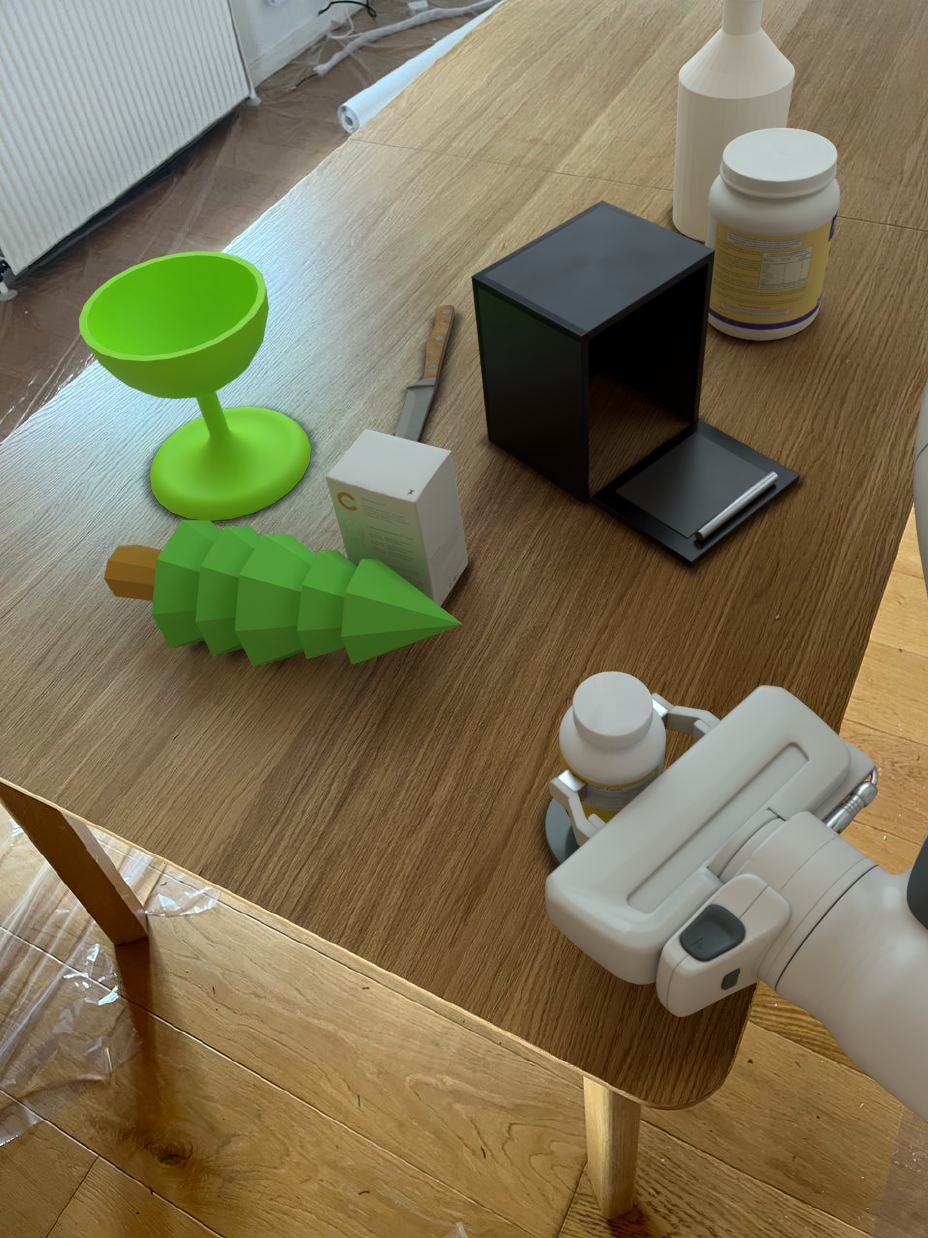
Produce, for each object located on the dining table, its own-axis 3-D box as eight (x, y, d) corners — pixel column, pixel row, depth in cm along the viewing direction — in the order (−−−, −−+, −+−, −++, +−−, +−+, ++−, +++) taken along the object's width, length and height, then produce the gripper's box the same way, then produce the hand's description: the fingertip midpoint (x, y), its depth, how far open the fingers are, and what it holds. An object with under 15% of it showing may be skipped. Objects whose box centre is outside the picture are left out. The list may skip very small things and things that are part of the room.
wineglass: (264, 534, 93) (207, 373, 80) (118, 503, 98) (40, 346, 84) (337, 423, 103) (298, 261, 89) (200, 399, 107) (142, 242, 93)
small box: (470, 563, 89) (454, 449, 79) (436, 616, 85) (415, 503, 75) (389, 539, 92) (364, 425, 82) (353, 588, 88) (323, 476, 78)
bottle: (765, 248, 115) (800, 4, 96) (660, 239, 118) (673, 2, 99) (781, 194, 122) (815, -44, 102) (681, 187, 125) (696, -45, 106)
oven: (803, 478, 91) (839, 304, 78) (686, 572, 86) (703, 403, 72) (601, 364, 104) (602, 199, 91) (488, 440, 99) (471, 275, 85)
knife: (427, 304, 112) (454, 304, 111) (429, 313, 113) (455, 313, 112) (371, 507, 93) (403, 507, 93) (373, 515, 94) (405, 516, 94)
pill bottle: (605, 743, 71) (606, 640, 62) (680, 799, 68) (692, 698, 59) (542, 804, 69) (533, 705, 60) (616, 865, 65) (619, 770, 57)
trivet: (656, 765, 74) (657, 758, 73) (691, 879, 68) (692, 873, 68) (534, 787, 74) (533, 780, 73) (559, 903, 68) (558, 896, 68)
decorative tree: (105, 482, 81) (461, 528, 73) (176, 537, 92) (494, 582, 83) (58, 617, 79) (423, 681, 70) (138, 657, 89) (463, 717, 80)
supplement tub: (839, 329, 104) (874, 168, 91) (726, 357, 103) (745, 198, 90) (786, 268, 112) (811, 111, 99) (680, 293, 111) (692, 138, 98)
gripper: (907, 748, 58) (715, 617, 65) (662, 998, 50) (476, 818, 58) (884, 803, 63) (707, 675, 70) (657, 1039, 55) (486, 868, 63)
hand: (601, 741), depth 64 cm, fingers closed on pill bottle, 6 cm apart
